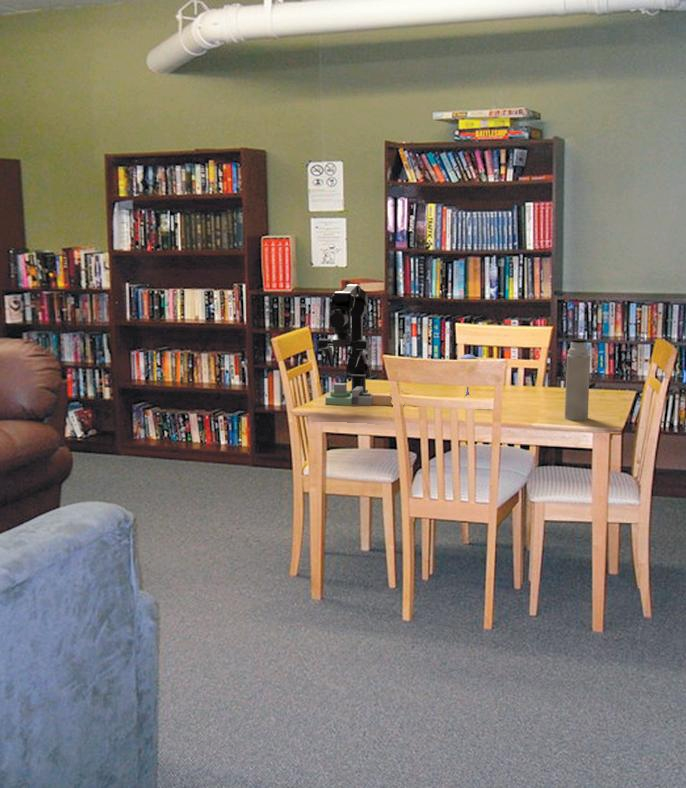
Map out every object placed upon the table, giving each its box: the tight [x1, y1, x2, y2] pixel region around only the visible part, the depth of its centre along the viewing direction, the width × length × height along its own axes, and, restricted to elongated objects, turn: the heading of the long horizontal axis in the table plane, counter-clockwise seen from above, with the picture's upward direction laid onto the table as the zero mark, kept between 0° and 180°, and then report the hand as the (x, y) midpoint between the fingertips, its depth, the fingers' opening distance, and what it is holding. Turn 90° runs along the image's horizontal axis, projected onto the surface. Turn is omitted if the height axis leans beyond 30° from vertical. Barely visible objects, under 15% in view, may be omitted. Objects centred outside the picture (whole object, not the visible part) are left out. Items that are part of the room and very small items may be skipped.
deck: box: [325, 382, 373, 406], centre depth 408 cm, size 11×18×7 cm, turn 77°
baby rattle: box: [459, 354, 478, 397], centre depth 409 cm, size 9×9×18 cm
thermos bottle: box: [564, 338, 591, 421], centre depth 374 cm, size 8×8×28 cm
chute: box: [370, 389, 404, 406], centre depth 405 cm, size 6×12×5 cm, turn 77°
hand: (343, 366), depth 400 cm, fingers open, 9 cm apart
